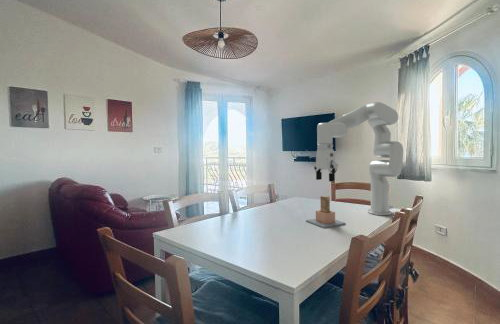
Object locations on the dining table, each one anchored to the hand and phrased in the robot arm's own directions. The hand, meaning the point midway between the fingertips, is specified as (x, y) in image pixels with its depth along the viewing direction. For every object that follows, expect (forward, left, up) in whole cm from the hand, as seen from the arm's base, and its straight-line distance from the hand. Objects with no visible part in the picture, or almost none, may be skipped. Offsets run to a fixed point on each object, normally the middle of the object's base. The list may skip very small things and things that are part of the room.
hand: (325, 180), depth 135 cm
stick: (0, 0, -20) cm, 20 cm away
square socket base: (0, 0, -22) cm, 22 cm away
